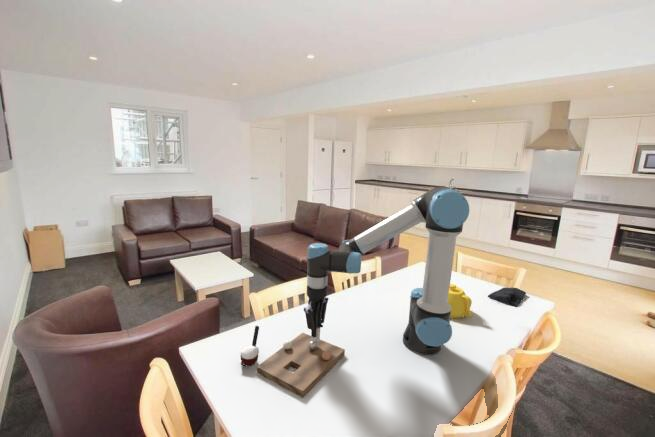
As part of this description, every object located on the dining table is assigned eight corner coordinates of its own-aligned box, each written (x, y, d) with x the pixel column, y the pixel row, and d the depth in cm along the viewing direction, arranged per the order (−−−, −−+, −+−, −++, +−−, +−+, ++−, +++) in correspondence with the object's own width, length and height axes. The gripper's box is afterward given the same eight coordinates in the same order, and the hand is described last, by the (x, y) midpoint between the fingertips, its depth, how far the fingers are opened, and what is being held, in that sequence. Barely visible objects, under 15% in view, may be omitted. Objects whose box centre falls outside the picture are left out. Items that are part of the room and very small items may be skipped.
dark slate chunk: (530, 297, 175) (532, 289, 174) (515, 308, 161) (516, 300, 160) (502, 288, 186) (503, 280, 185) (485, 298, 172) (486, 290, 171)
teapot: (416, 304, 162) (418, 279, 160) (438, 296, 172) (440, 273, 169) (459, 326, 142) (462, 298, 139) (481, 316, 152) (484, 289, 149)
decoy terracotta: (332, 358, 113) (332, 350, 112) (327, 363, 110) (327, 355, 109) (324, 355, 114) (325, 347, 114) (320, 360, 112) (320, 352, 111)
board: (344, 355, 119) (344, 349, 118) (302, 398, 97) (302, 391, 97) (302, 338, 129) (302, 332, 129) (256, 373, 108) (256, 366, 107)
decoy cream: (293, 347, 118) (293, 340, 118) (288, 352, 116) (288, 344, 115) (287, 345, 120) (287, 337, 120) (281, 349, 118) (281, 341, 117)
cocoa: (243, 373, 108) (241, 343, 105) (234, 363, 113) (232, 334, 110) (266, 360, 115) (265, 332, 112) (258, 352, 119) (256, 324, 116)
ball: (319, 345, 119) (316, 341, 117) (315, 352, 117) (312, 348, 115) (312, 342, 120) (309, 338, 118) (308, 350, 118) (305, 346, 117)
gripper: (318, 277, 122) (317, 332, 127) (297, 288, 112) (297, 347, 116) (335, 282, 118) (332, 338, 123) (314, 293, 108) (313, 355, 112)
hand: (315, 342), depth 120 cm, fingers closed
